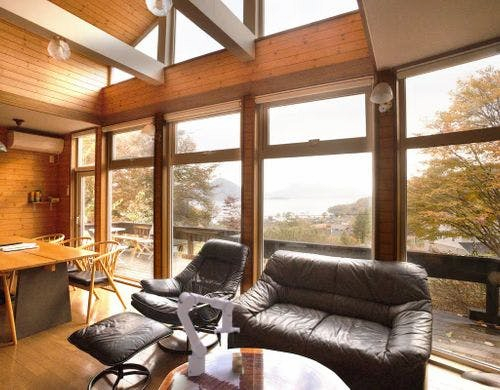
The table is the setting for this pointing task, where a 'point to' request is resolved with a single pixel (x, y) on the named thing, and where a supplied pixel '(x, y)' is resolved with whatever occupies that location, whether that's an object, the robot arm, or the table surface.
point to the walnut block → (236, 368)
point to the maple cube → (237, 358)
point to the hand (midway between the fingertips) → (226, 345)
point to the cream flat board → (237, 373)
